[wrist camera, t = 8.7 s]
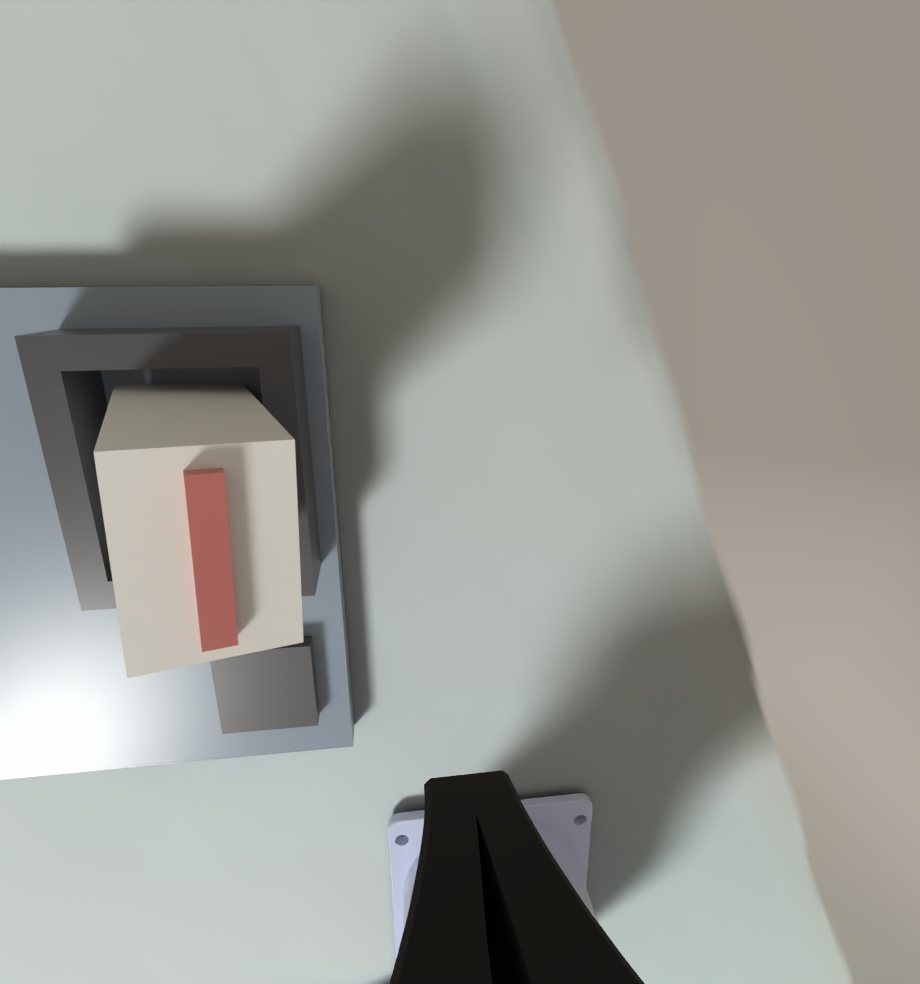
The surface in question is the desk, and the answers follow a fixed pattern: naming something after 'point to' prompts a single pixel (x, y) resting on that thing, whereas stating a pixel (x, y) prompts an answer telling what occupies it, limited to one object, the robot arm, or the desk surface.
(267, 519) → the plug
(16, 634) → the board
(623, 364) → the desk surface
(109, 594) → the frame
